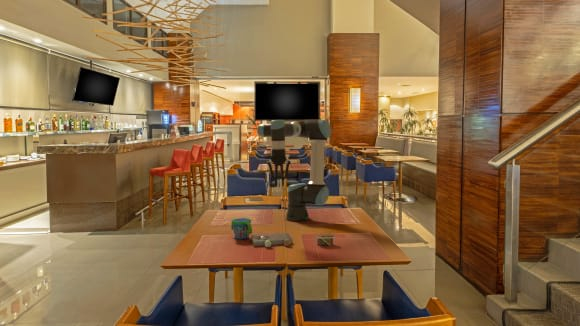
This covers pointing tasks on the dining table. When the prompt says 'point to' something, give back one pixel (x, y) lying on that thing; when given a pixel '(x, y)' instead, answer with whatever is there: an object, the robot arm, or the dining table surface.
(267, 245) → the pale green ball
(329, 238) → the platform
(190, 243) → the dining table surface
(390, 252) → the dining table surface
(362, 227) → the dining table surface
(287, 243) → the cork ball
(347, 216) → the dining table surface
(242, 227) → the snack cup
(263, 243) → the plate
